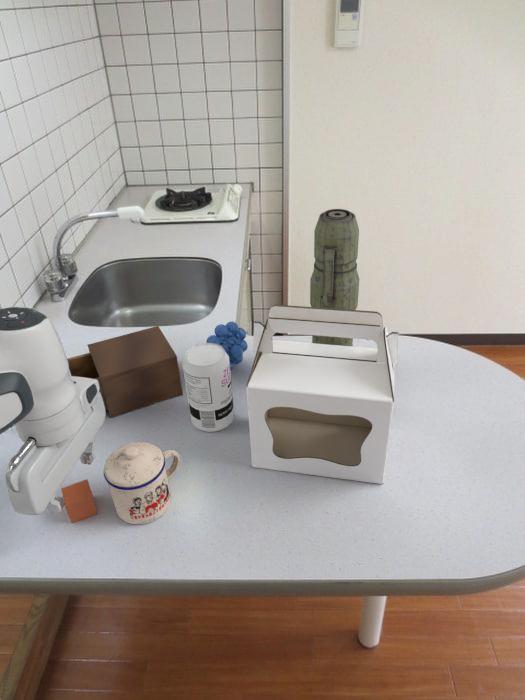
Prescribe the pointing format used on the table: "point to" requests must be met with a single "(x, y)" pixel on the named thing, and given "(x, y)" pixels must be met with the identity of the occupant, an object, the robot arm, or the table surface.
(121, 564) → the table surface
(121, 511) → the teacup with lid
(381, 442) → the gable box
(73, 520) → the block
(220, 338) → the grapes
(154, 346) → the cabinet
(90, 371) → the drawer
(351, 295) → the thermos
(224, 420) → the supplement can
